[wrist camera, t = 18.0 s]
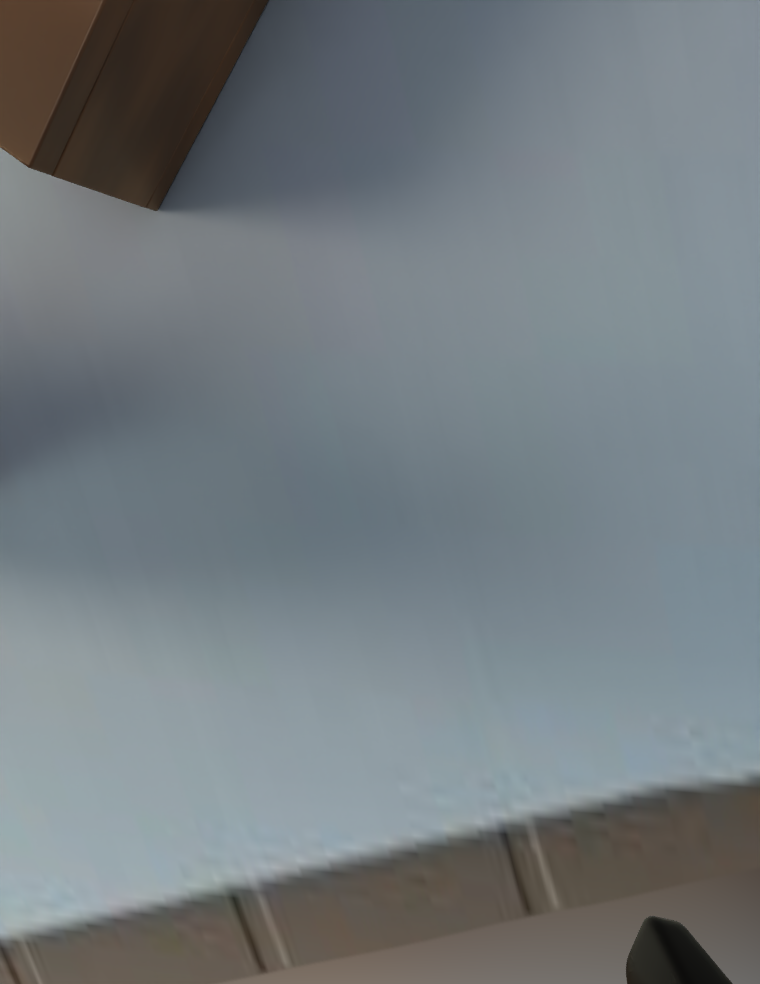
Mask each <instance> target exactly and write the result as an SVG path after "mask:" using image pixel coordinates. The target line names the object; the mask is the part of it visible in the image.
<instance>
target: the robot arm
mask: <svg viewBox="0 0 760 984" xmlns="http://www.w3.org/2000/svg"><path fill="white" fill-rule="evenodd" d="M626 965H627V966H626V977H627V984H732V983H731V981H730V980H729V979H728V978H727V977H726V976H725V974H724V973H723V972H722V971H721V970H720V968H719V967H718V966H717V965H716V963H715V962H714V961H713V960H712V959H711V958H710V956H709V955H708V954H707V953H706V951H705V950H704V949H703V948H702V947H701V946H700V944H699V943H698V942H697V941H696V940H695V938H694V937H693V936H692V935H691V934H690V932H689V931H688V930H687V929H686V928H685V927H684V926H683V925H682V924H681V923H679V922H677V921H674V920H669V919H665V918H660V917H655V916H649V917H648V918H646V919H645V920H644V922H643V924H642V926H641V928H640V930H639V933H638V935H637V937H636V939H635V942H634V944H633V946H632V949H631V951H630V953H629V956H628V959H627V964H626Z"/></svg>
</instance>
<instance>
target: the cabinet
mask: <svg viewBox="0 0 760 984" xmlns="http://www.w3.org/2000/svg"><path fill="white" fill-rule="evenodd" d="M267 2H268V0H0V147H1V148H2V149H3V150H5V151H6V152H8V153H9V154H10V155H12V156H13V157H15V158H16V159H17V160H19V161H20V162H21V163H23V164H24V165H26V166H27V167H28V168H31V169H34V170H37V171H40V172H43V173H46V174H49V175H52V176H54V177H57V178H60V179H63V180H66V181H68V182H71V183H74V184H77V185H80V186H83V187H86V188H89V189H92V190H95V191H98V192H101V193H104V194H106V195H109V196H112V197H115V198H118V199H121V200H124V201H127V202H130V203H133V204H136V205H139V206H141V207H145V208H148V209H151V210H154V211H157V210H158V208H159V207H160V205H161V203H162V201H163V199H164V197H165V195H166V193H167V191H168V190H169V188H170V186H171V184H172V182H173V180H174V178H175V176H176V174H177V173H178V171H179V169H180V167H181V165H182V163H183V161H184V159H185V157H186V155H187V154H188V152H189V150H190V148H191V146H192V144H193V142H194V140H195V138H196V137H197V135H198V133H199V131H200V129H201V127H202V125H203V123H204V121H205V119H206V118H207V116H208V114H209V112H210V110H211V108H212V106H213V104H214V102H215V101H216V99H217V97H218V95H219V93H220V91H221V89H222V87H223V85H224V84H225V82H226V80H227V78H228V76H229V74H230V72H231V70H232V68H233V66H234V65H235V63H236V61H237V59H238V57H239V55H240V53H241V51H242V49H243V48H244V46H245V44H246V42H247V40H248V38H249V36H250V34H251V32H252V31H253V29H254V27H255V25H256V23H257V21H258V19H259V17H260V15H261V13H262V12H263V10H264V8H265V6H266V4H267Z"/></svg>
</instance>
